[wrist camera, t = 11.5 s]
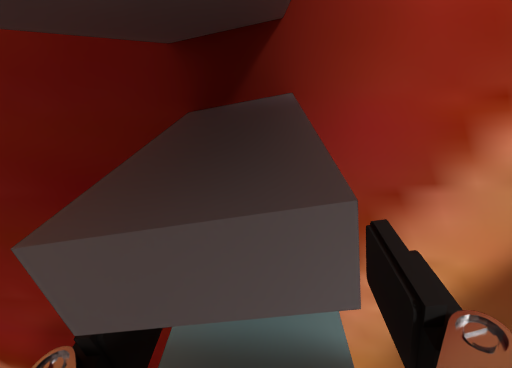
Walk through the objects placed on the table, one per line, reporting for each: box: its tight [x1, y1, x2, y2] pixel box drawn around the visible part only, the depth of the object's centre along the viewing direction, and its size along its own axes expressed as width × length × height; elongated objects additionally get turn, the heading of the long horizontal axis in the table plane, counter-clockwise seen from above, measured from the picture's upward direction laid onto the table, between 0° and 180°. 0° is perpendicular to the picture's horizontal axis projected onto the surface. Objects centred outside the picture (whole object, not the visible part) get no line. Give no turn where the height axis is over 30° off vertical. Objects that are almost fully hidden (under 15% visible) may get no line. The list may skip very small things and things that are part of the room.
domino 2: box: [158, 311, 354, 368], centre depth 11 cm, size 2×5×10 cm, turn 102°
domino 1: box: [11, 93, 361, 336], centre depth 9 cm, size 2×5×10 cm, turn 101°
